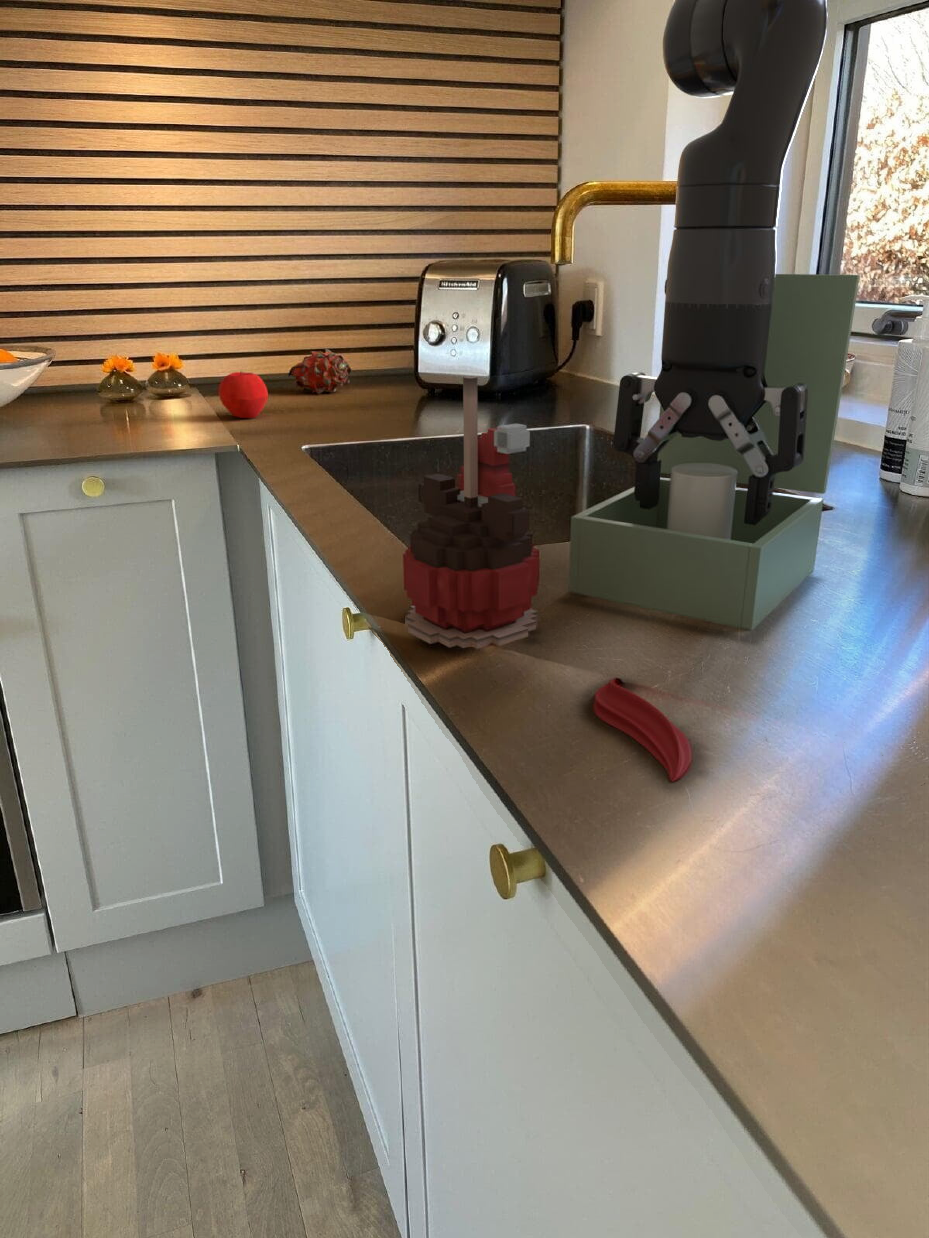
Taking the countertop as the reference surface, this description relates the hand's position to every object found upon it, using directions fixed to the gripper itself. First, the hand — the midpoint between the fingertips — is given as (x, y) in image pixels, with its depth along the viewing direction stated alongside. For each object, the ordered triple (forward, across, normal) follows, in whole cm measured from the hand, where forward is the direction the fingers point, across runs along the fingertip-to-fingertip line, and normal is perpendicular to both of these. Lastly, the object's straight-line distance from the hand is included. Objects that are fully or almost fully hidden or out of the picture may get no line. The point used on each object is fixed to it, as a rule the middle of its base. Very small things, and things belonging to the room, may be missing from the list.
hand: (698, 514), depth 74 cm
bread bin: (+6, 0, 0) cm, 6 cm away
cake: (+6, +10, +17) cm, 21 cm away
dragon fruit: (+6, +100, -65) cm, 119 cm away
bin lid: (-9, 0, -8) cm, 12 cm away
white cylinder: (+5, 0, 0) cm, 5 cm away
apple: (+6, +92, -38) cm, 100 cm away
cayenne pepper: (+6, -6, +24) cm, 25 cm away
